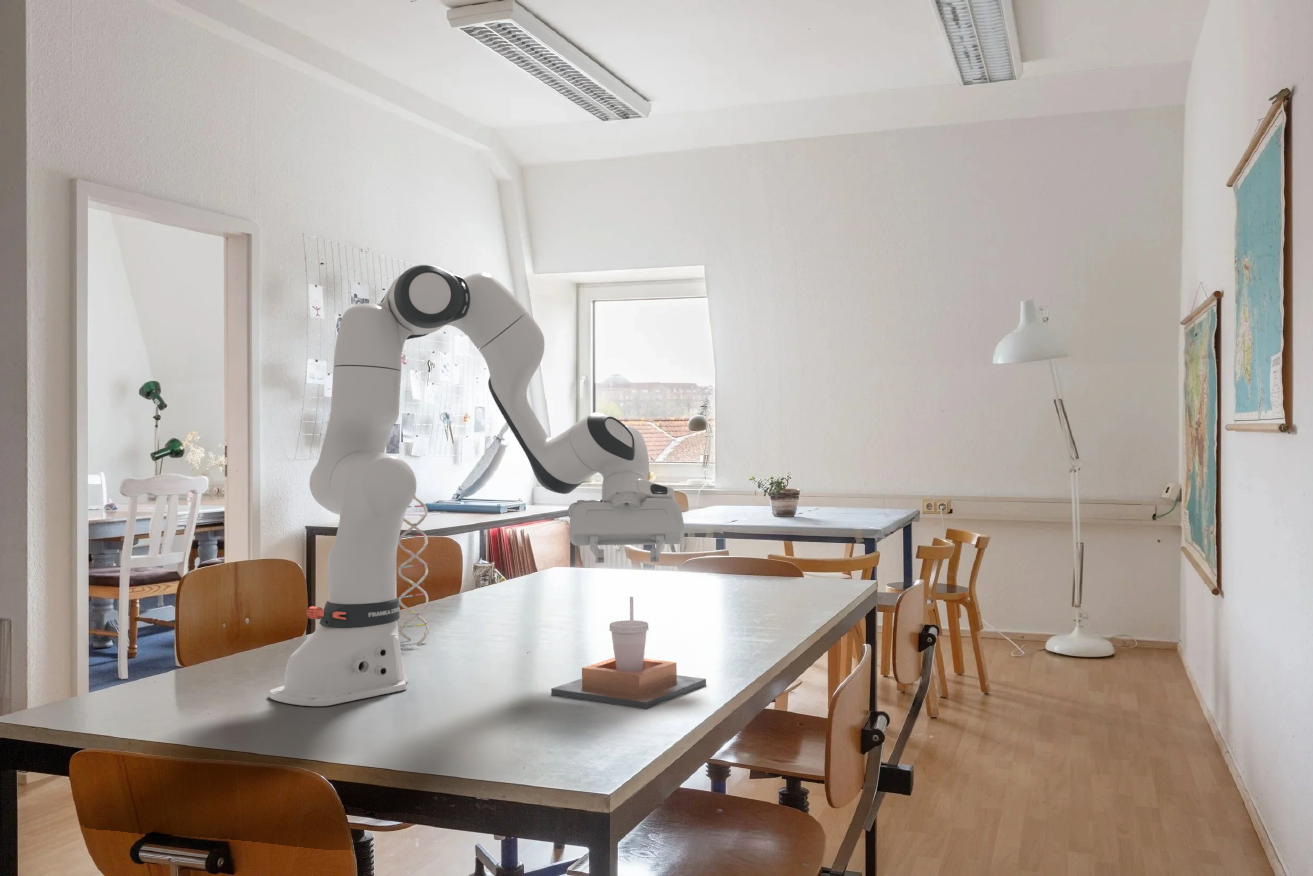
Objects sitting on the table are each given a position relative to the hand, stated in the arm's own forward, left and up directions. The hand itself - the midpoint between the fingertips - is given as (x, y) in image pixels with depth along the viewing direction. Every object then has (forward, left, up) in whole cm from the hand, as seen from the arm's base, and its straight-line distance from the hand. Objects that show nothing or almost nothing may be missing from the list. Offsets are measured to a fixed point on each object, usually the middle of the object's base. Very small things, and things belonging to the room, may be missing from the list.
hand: (627, 560), depth 180 cm
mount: (-8, -6, -20) cm, 22 cm away
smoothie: (-8, -6, -19) cm, 22 cm away
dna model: (+4, +55, -20) cm, 59 cm away
